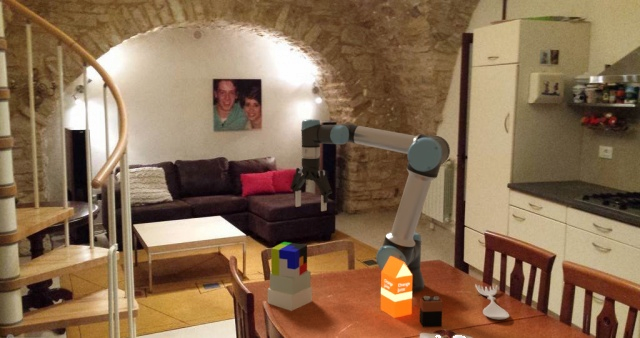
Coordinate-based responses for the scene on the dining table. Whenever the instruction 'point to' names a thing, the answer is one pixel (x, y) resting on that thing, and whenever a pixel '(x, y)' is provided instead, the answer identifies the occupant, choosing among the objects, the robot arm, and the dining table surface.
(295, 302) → the tower base
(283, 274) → the puzzle toy
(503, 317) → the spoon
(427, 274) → the dining table surface
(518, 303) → the dining table surface
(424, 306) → the battery
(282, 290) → the tower top
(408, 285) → the orange juice
